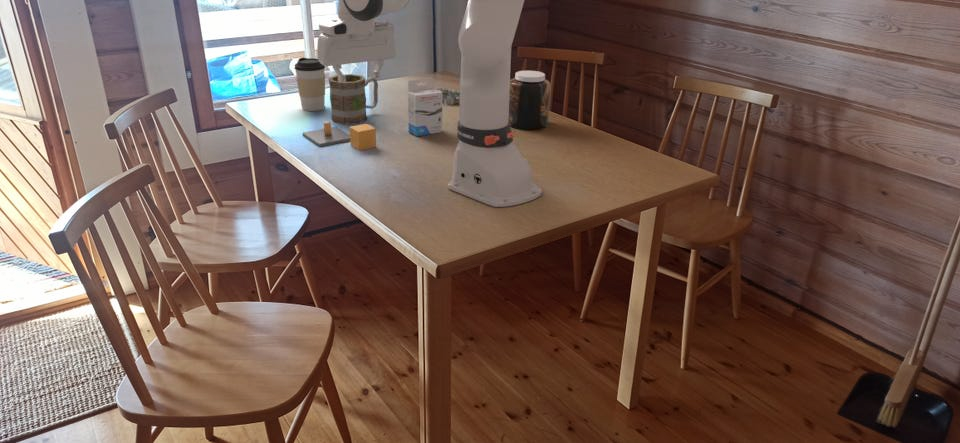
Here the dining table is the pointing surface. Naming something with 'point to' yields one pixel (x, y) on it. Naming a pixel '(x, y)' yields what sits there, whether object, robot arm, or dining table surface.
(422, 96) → the ink box
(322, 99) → the coffee cup
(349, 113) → the mug
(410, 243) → the dining table surface
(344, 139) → the plate
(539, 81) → the jar
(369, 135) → the orange cubic block
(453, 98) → the egg carton
